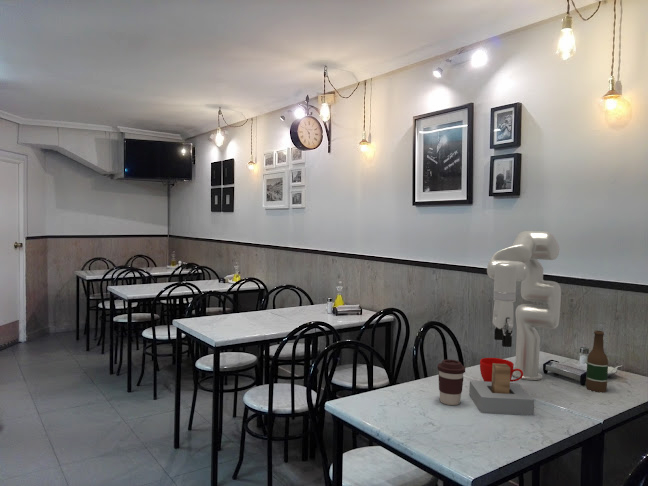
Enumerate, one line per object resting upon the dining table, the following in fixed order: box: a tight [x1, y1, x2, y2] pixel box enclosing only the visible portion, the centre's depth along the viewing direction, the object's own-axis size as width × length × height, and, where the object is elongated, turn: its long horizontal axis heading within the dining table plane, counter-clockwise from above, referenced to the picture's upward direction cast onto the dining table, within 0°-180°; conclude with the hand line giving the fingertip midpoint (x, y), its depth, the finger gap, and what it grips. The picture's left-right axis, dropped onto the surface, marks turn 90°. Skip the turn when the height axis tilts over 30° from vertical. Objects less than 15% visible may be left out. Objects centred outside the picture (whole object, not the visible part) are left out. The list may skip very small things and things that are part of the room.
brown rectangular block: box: [491, 363, 511, 394], centre depth 181 cm, size 5×5×14 cm
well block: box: [468, 380, 535, 416], centre depth 181 cm, size 18×18×6 cm
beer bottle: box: [585, 330, 609, 393], centre depth 201 cm, size 8×8×24 cm
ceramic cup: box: [479, 357, 523, 383], centre depth 201 cm, size 13×17×10 cm
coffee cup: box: [436, 359, 466, 406], centre depth 182 cm, size 10×10×15 cm
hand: (502, 343), depth 181 cm, fingers open, 9 cm apart
